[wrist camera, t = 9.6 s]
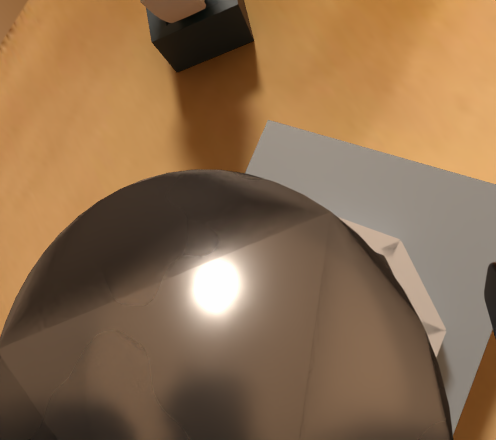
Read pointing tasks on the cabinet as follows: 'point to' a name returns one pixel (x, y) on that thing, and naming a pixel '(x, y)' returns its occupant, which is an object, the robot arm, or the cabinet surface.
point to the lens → (215, 324)
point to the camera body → (404, 233)
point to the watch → (196, 29)
